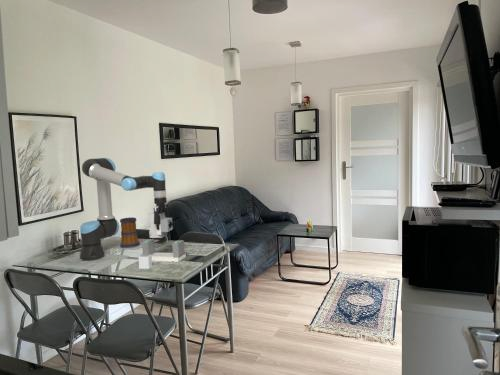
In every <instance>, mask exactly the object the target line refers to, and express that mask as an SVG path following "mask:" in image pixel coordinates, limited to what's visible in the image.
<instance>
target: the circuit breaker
mask: <svg viewBox="0 0 500 375" xmlns="http://www.w3.org/2000/svg"><path fill="white" fill-rule="evenodd" d="M159 215H160V224H161V235H157V228H156V224H154V211H153V212H151V213H148V217H147V218H148V221H149V228H150V230H149V231H148V232H149V239H151V238H152V239H157V238H158V239H162V238H164V237H165V236H167V234H168V232H170V231H172V230H174V224H175V223H174V222H173V217H169V218H166V217H165V215H164V212H162V214H159Z"/></svg>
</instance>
